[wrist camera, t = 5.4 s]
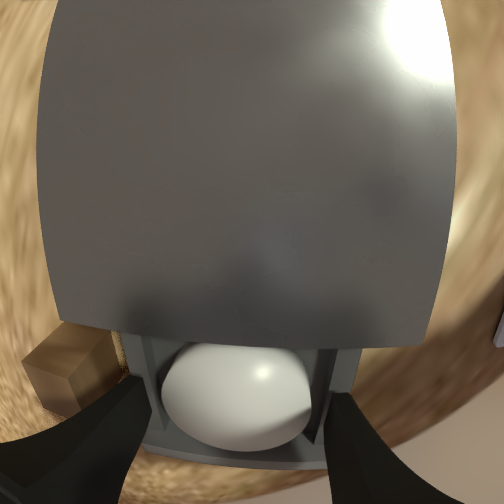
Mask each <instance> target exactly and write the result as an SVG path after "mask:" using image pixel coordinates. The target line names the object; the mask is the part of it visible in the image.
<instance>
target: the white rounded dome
mask: <svg viewBox="0 0 504 504" xmlns="http://www.w3.org/2000/svg"><path fill="white" fill-rule="evenodd" d="M162 402H163V405H164V408H165V410H166V412H167V414H168V415H169V417H170V418H171V419H172V421H173V422H174V423H175V424H176V425H177V426H178V427H179V428H180V429H181V430H183V431H184V432H185V433H187V434H188V435H190V436H191V437H193V438H195V439H196V440H198V441H201V442H203V443H205V444H208V445H210V446H213V447H217V448H221V449H225V450H232V451H244V452H247V451H261V450H266V449H271V448H274V447H277V446H280V445H282V444H285V443H287V442H288V441H290V440H292V439H293V438H295V437H296V436H297V435H298V434H300V433H301V432H302V430H303V429H304V428H305V427H306V425H307V423H308V421H309V419H310V416H311V409H312V408H311V398H310V388H309V379H308V373H307V369H306V367H305V365H304V363H303V361H302V359H301V358H300V357H299V355H298V354H297V353H296V352H295V351H294V350H293V349H291V348H265V347H247V346H233V345H220V344H209V343H198V342H187V343H186V344H185V345H184V346H183V347H182V348H181V350H180V351H179V352H178V354H177V356H176V358H175V360H174V362H173V364H172V366H171V368H170V370H169V372H168V374H167V376H166V379H165V381H164V383H163V386H162Z"/></svg>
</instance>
